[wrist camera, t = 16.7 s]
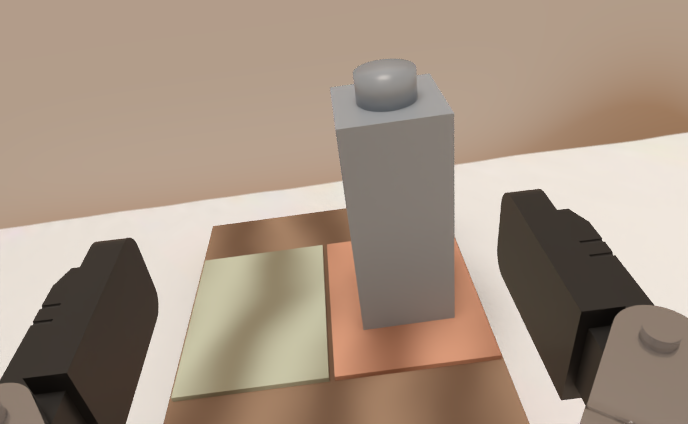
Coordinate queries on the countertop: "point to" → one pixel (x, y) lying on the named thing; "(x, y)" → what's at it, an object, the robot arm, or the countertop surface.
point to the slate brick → (398, 191)
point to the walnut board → (326, 340)
